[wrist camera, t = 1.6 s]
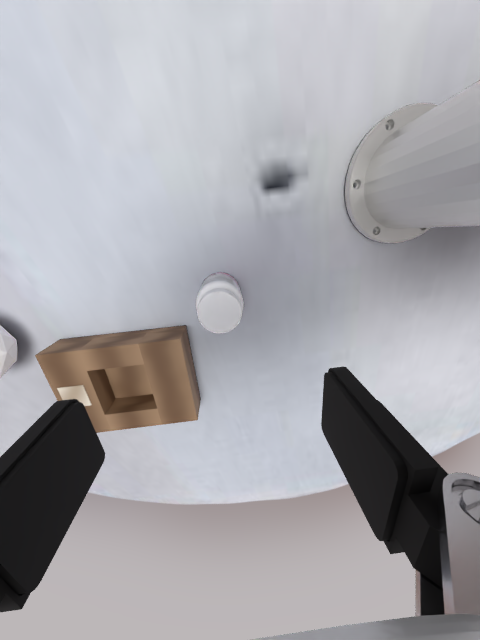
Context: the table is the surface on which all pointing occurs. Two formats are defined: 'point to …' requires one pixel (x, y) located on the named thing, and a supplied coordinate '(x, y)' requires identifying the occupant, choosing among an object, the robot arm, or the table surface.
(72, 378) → the brown flat recessed slab
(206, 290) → the pill bottle
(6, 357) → the geometric ball
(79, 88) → the table surface
